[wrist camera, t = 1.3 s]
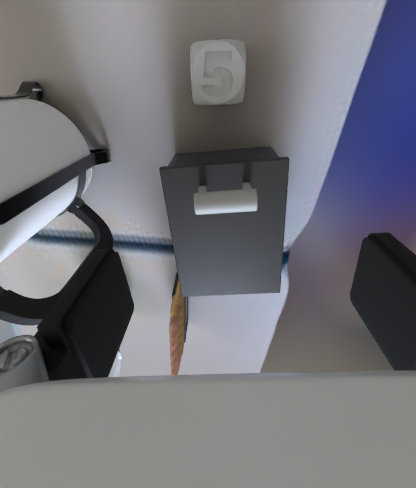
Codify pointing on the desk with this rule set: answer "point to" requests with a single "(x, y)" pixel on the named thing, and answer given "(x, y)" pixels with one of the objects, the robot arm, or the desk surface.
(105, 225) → the coffee press
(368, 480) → the robot arm
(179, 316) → the ammunition clip
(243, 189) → the lid
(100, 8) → the desk surface
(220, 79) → the die
